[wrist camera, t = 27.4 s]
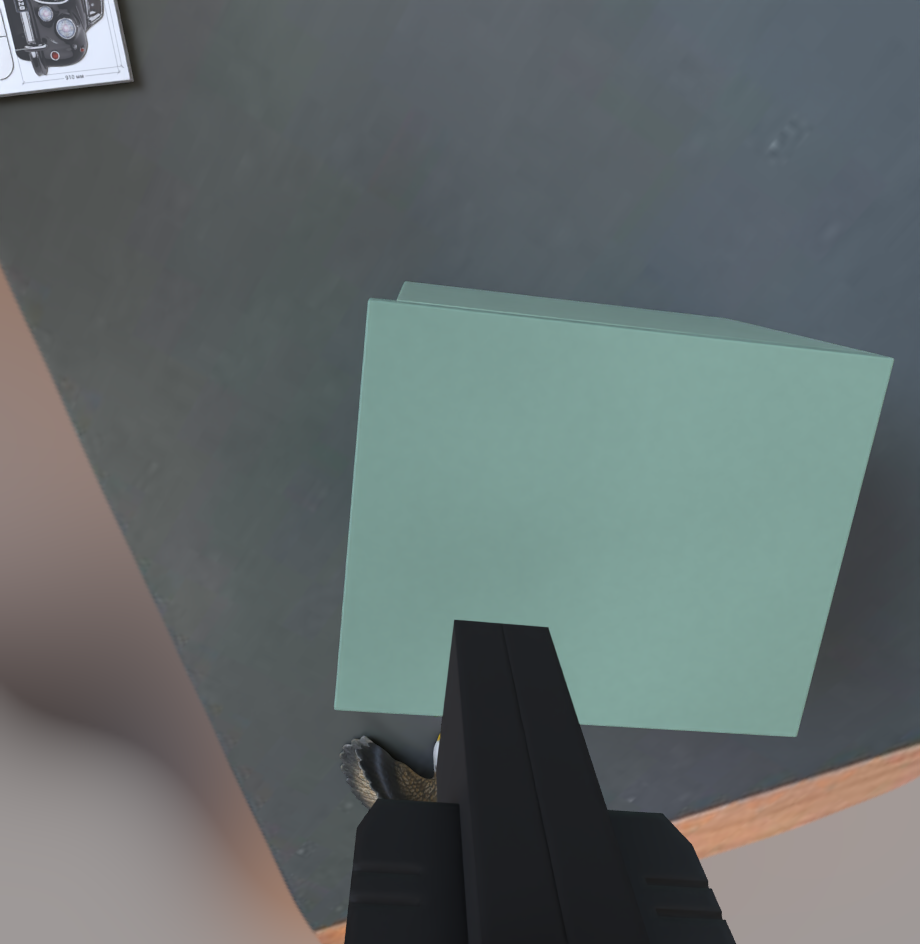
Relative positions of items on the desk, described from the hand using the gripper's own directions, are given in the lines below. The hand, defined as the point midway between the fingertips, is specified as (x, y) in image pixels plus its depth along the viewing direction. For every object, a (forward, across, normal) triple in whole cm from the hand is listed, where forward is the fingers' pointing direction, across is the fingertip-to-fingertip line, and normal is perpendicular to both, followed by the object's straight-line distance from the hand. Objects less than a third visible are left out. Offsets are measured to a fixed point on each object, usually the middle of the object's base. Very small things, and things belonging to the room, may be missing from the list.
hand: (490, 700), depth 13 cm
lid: (+14, +5, -2) cm, 15 cm away
